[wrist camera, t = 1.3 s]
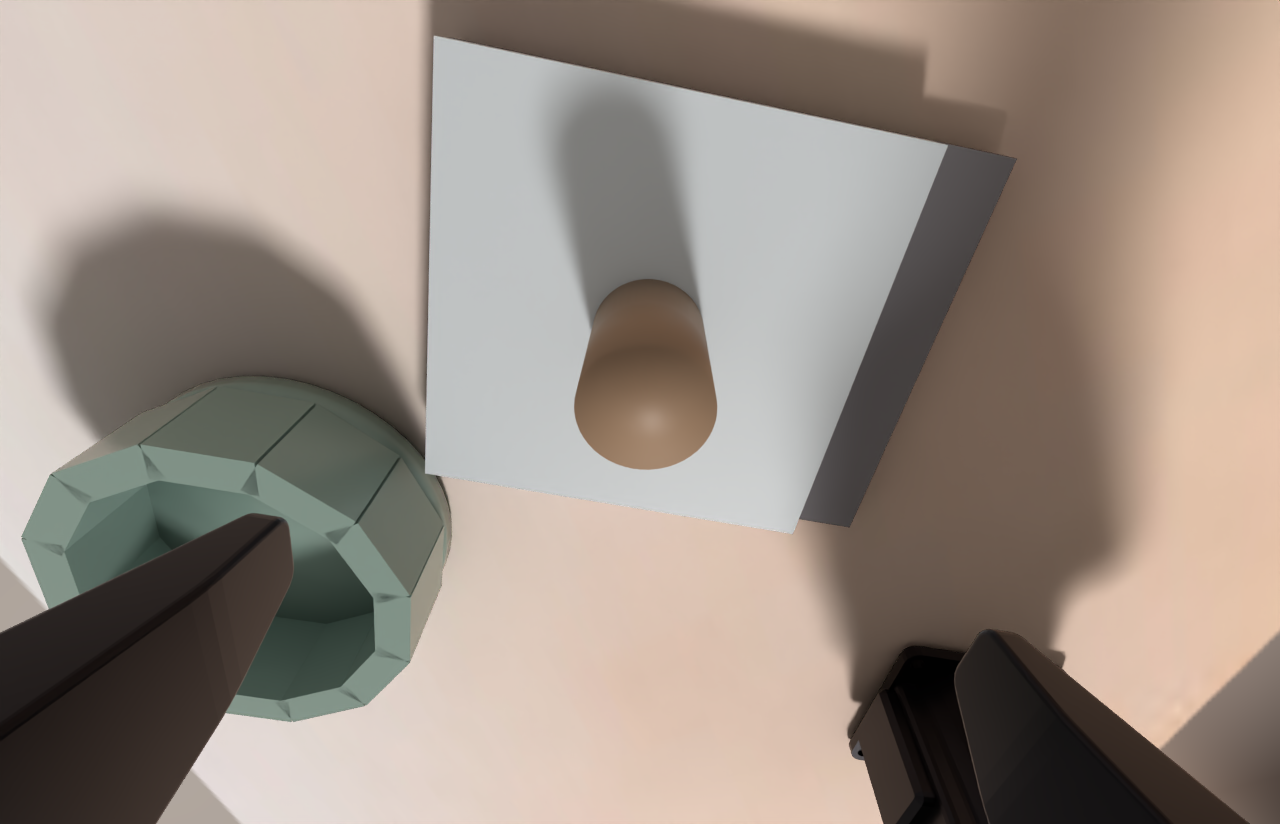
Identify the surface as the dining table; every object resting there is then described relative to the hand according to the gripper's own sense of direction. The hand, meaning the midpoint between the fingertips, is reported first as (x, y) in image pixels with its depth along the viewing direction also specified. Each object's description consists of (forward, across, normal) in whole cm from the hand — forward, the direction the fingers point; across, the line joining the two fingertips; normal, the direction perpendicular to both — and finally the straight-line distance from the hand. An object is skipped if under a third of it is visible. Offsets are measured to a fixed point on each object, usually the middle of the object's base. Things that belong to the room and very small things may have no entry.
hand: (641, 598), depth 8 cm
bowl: (+10, +10, +9) cm, 17 cm away
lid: (+10, 0, 0) cm, 10 cm away
